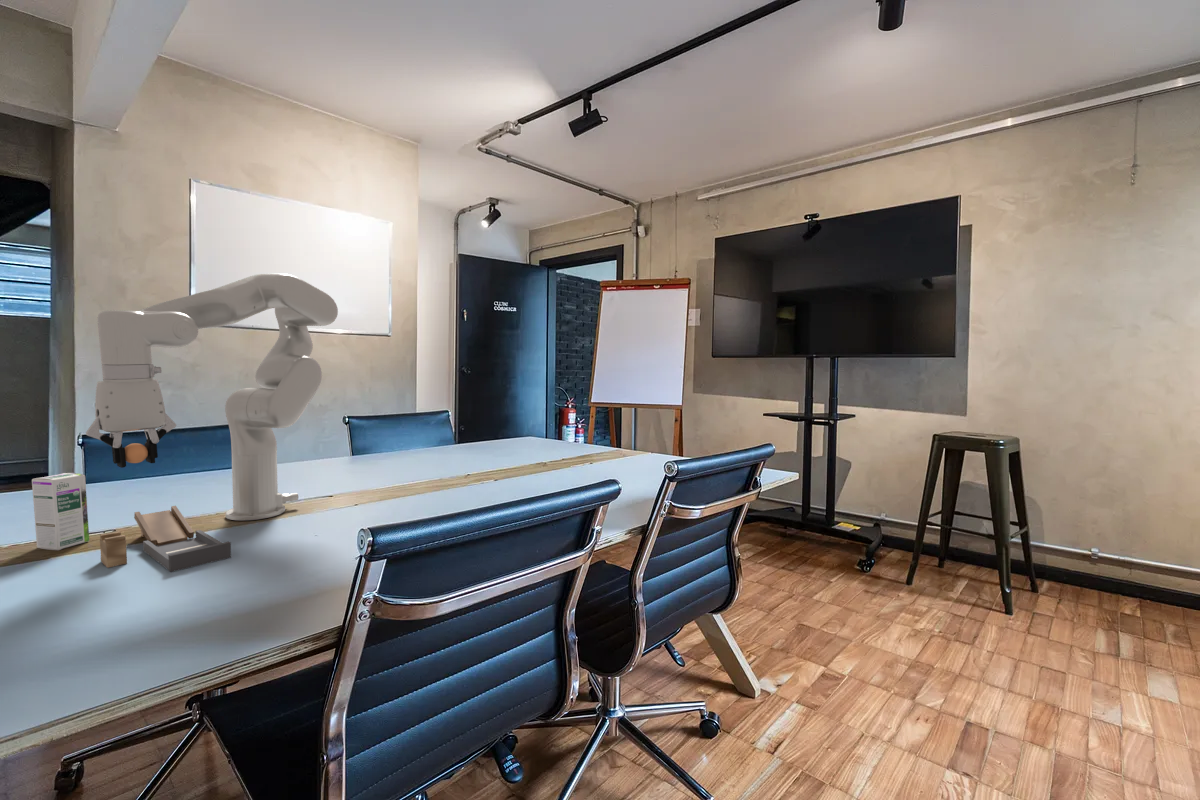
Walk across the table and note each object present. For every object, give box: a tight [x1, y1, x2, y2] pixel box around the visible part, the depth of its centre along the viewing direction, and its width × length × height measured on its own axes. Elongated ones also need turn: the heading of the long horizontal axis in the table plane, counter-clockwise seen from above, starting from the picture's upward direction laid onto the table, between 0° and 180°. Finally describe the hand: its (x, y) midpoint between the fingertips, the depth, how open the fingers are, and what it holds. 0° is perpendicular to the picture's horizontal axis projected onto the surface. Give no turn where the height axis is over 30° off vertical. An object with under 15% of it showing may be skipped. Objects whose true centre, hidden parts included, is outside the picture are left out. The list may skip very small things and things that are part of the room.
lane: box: [142, 529, 232, 573], centre depth 107 cm, size 10×17×3 cm, turn 53°
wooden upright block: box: [99, 531, 128, 569], centre depth 102 cm, size 3×5×5 cm, turn 53°
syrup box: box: [31, 472, 90, 551], centre depth 111 cm, size 6×6×14 cm
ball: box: [124, 442, 148, 464], centre depth 108 cm, size 4×4×4 cm
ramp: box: [133, 505, 195, 546], centre depth 116 cm, size 7×12×6 cm, turn 53°
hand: (136, 463), depth 109 cm, fingers closed on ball, 4 cm apart
